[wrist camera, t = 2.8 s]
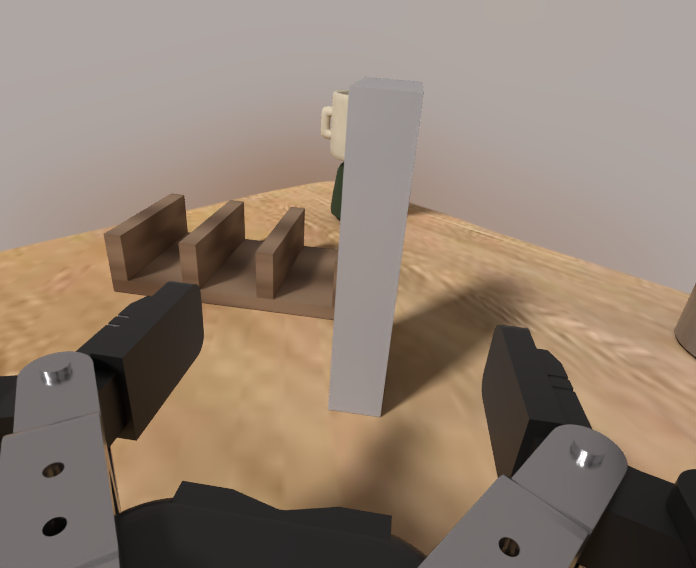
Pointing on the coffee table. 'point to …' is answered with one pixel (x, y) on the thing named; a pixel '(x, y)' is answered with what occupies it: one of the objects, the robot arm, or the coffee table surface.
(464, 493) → the coffee table surface
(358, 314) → the clay strip
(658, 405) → the coffee table surface
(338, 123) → the character mug
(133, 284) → the drying rack
